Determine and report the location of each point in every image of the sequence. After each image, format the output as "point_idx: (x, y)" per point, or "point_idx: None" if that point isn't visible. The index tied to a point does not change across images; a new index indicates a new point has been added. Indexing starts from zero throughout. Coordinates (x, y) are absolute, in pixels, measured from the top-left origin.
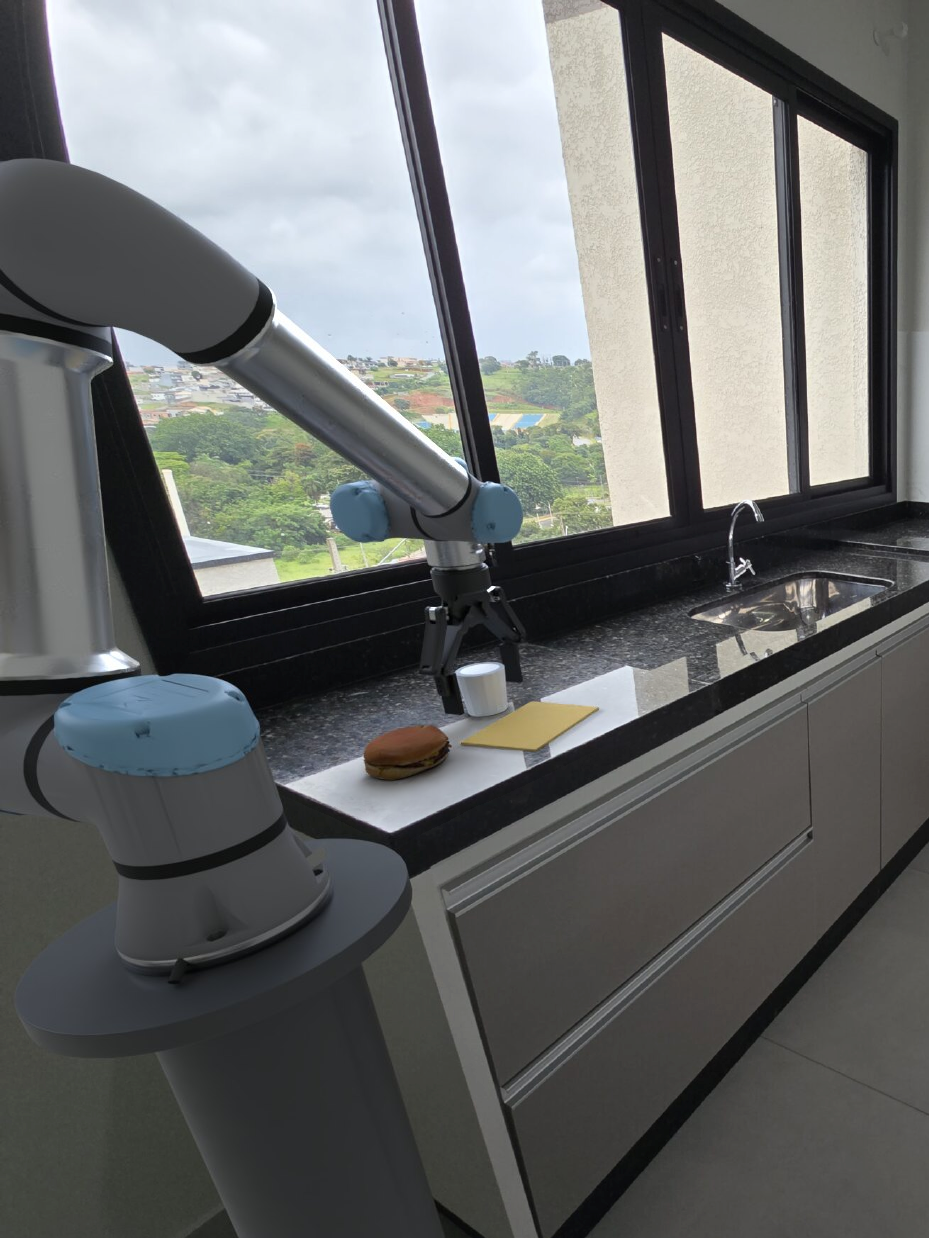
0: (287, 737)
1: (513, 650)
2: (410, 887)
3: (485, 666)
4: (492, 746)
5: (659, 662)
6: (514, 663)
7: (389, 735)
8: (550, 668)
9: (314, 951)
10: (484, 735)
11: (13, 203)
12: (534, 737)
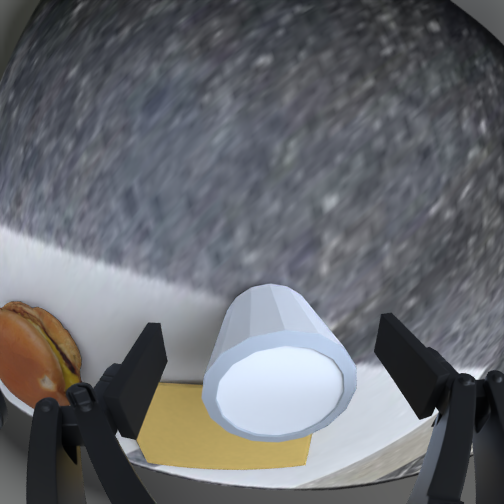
0: (70, 35)
1: (414, 407)
2: (4, 423)
3: (311, 393)
4: None
5: None
6: (398, 377)
7: (3, 355)
8: (495, 260)
9: None
10: None
11: None
12: (174, 453)
